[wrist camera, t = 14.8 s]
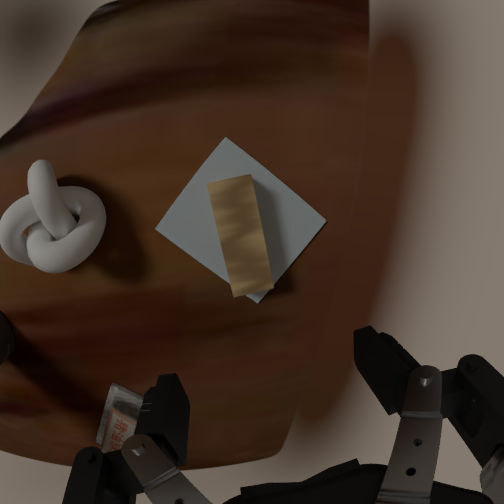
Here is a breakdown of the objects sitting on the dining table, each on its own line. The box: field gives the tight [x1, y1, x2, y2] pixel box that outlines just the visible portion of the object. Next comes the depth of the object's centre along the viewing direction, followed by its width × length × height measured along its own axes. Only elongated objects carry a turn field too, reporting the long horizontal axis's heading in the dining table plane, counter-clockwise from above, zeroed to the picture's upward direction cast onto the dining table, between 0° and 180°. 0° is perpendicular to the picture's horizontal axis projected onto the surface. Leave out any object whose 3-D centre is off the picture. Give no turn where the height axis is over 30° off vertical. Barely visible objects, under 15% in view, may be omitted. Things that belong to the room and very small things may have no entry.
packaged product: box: [96, 383, 144, 453], centre depth 35 cm, size 18×5×10 cm
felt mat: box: [155, 137, 326, 303], centre depth 30 cm, size 14×12×1 cm
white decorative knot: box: [0, 160, 106, 273], centre depth 24 cm, size 11×12×9 cm
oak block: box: [207, 174, 274, 297], centre depth 28 cm, size 4×4×11 cm
